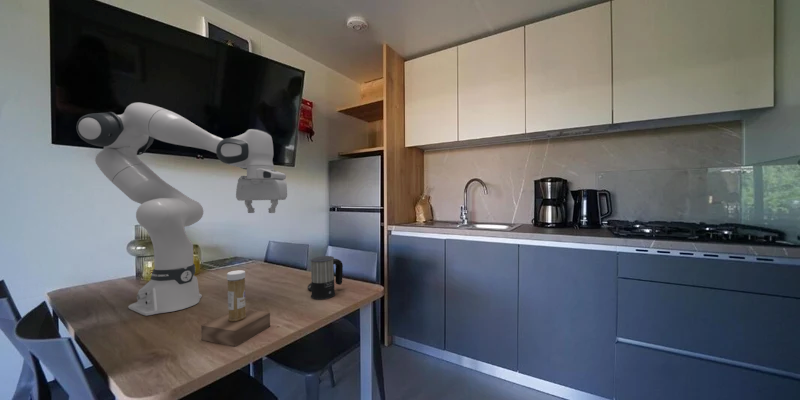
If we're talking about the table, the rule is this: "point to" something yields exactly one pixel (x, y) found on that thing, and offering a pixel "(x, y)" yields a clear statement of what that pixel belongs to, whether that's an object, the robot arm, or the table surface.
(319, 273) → the milk frother
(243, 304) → the sprinkles bottle
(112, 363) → the table surface
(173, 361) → the table surface
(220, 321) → the walnut pedestal
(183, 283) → the robot arm
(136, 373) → the table surface
